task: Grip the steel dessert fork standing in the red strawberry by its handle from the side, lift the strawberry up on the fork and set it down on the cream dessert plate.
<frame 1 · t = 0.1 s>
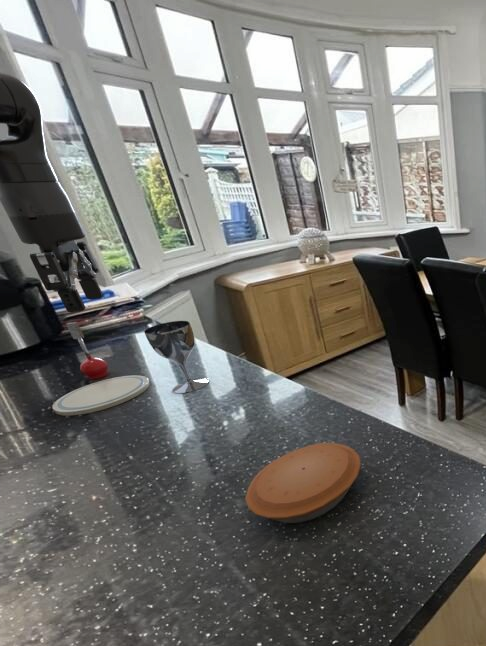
hand: (87, 304, 72), 25 cm above the kitchen counter, tool pointing down, fingers open, 8 cm apart
plate: (104, 395, 90), on the kitchen counter
wine glass: (191, 386, 93), on the kitchen counter
strawberry fork: (98, 376, 99), on the kitchen counter
pie: (311, 495, 60), on the kitchen counter
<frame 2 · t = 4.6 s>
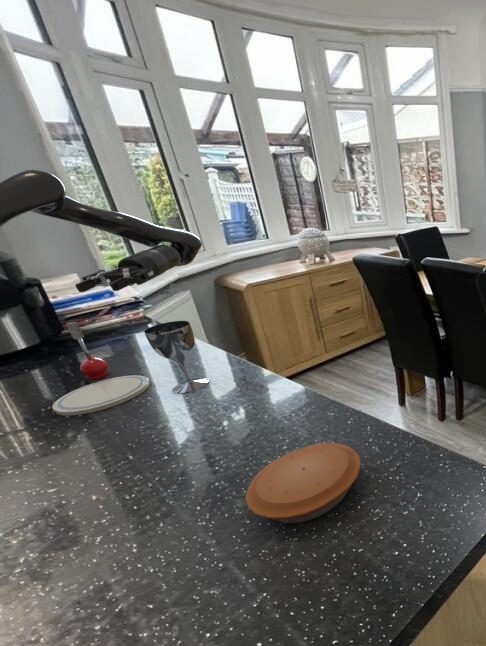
hand: (95, 288, 99), 21 cm above the kitchen counter, tool horizontal, fingers open, 8 cm apart
nothing on the kitchen counter moved.
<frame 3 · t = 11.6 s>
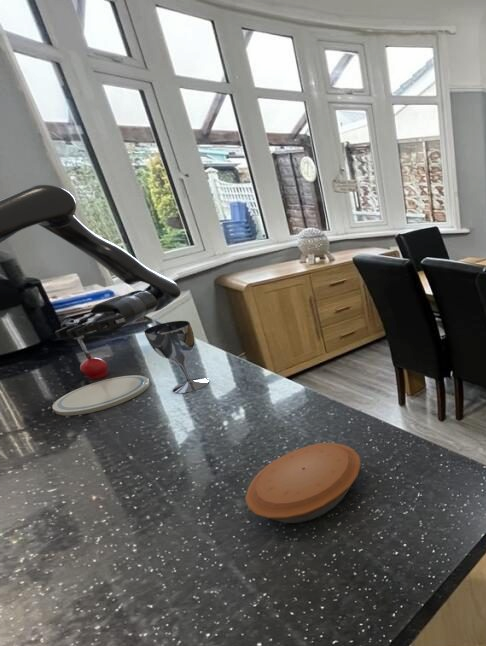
hand: (64, 335, 92), 12 cm above the kitchen counter, tool horizontal, fingers closed on strawberry fork
strawberry fork: (98, 376, 99), on the kitchen counter, touching gripper
everything else where it was.
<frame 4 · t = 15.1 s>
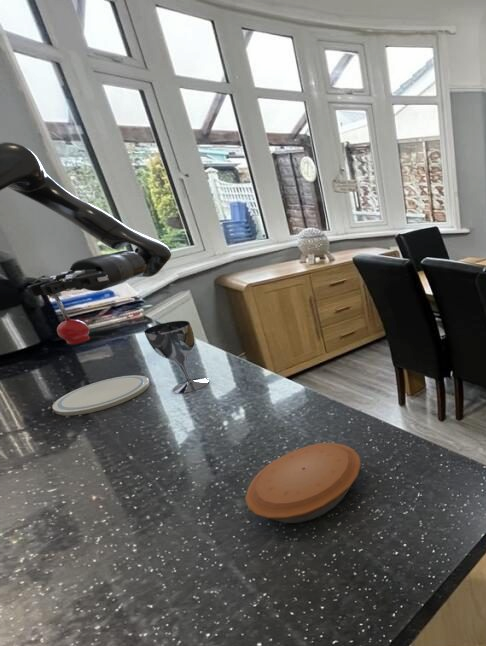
hand: (37, 291, 81), 25 cm above the kitchen counter, tool horizontal, fingers closed on strawberry fork
strawberry fork: (79, 341, 88), point 12 cm above the kitchen counter, touching gripper
everything else where it was.
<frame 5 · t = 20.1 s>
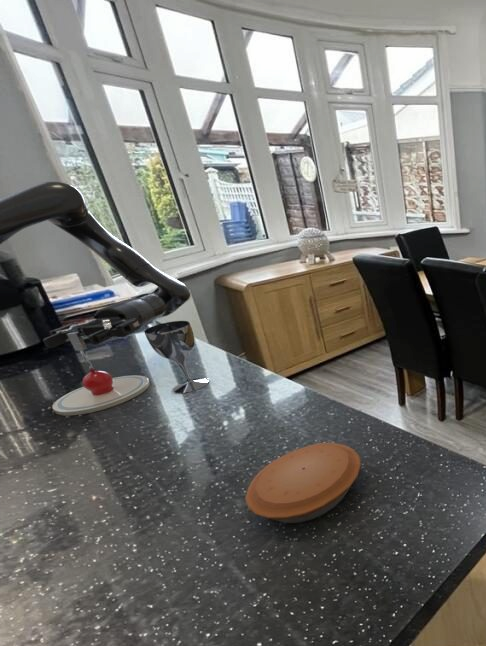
hand: (69, 342, 83), 14 cm above the kitchen counter, tool horizontal, fingers open, 8 cm apart
strawberry fork: (103, 391, 90), point 1 cm above the kitchen counter, touching plate
everything else where it was.
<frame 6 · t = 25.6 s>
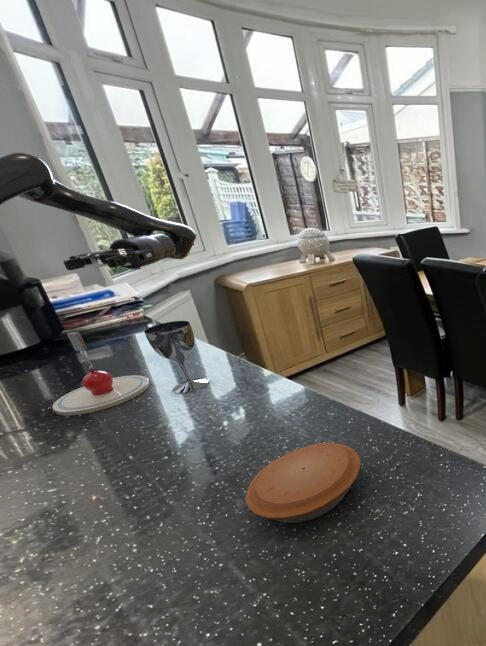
hand: (88, 264, 89), 28 cm above the kitchen counter, tool horizontal, fingers open, 8 cm apart
nothing on the kitchen counter moved.
at the end: strawberry fork inside the target area on the plate (0.1 cm from its centre), point 1.1 cm above the plate's base; strawberry fork tilted 0°; the gripper is holding nothing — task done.
